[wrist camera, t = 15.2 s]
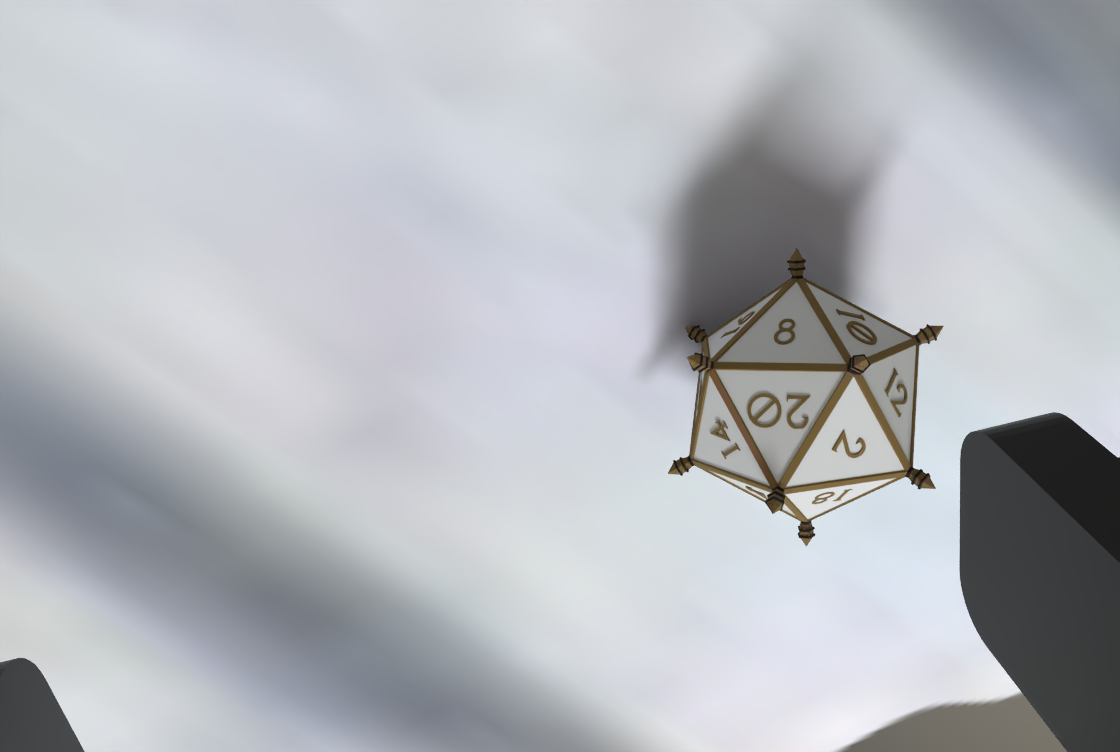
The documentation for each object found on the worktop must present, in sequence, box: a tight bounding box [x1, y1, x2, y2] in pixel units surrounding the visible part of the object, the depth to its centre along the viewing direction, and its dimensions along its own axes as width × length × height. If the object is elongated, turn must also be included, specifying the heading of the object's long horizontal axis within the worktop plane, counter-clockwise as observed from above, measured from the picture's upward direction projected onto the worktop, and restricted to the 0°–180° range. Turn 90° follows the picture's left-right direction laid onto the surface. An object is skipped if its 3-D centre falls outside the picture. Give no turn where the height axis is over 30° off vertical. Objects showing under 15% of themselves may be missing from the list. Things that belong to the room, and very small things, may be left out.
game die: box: [668, 248, 943, 546], centre depth 35 cm, size 9×8×10 cm
